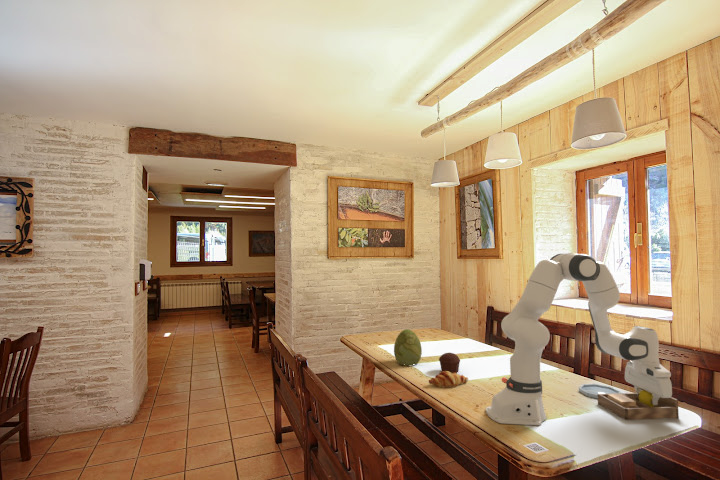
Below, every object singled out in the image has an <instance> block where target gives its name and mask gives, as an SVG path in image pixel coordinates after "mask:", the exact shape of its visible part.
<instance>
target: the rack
mask: <svg viewBox="0 0 720 480" xmlns="http://www.w3.org/2000/svg"><path fill="white" fill-rule="evenodd" d="M613 394H622V395H624V396H626V397H628V398H630V399H632V400H634V401H636V405H637V406H639V408H625V407H623V406H621V405H619V404H618V403H616V402H614V401H612V400H610V399H608V394H598V399H597V404H598V405H600V406H602V407H603V408H605V409H607V410H608V411H611V413H614V414H615V415H617V416H618V417H621V418H622V419H624V420H625V421H629V420H631V421H632V420H663V419H662V418H667V419H679V417H680V416H679V400H678V399H677V398H675V397H673V396H671V397H670V398H661V397H660V398H659V400H658V405H655V406H654V407H649V406H647V405H645V404H643V403H641V402H640V401H639V397H637V392H621V393H613ZM659 418H660V419H659Z"/></svg>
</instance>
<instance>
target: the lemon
mask: <svg viewBox="0 0 720 480" xmlns="http://www.w3.org/2000/svg"><path fill="white" fill-rule="evenodd" d="M650 399H653V396H652V393H650V392H648V391H646V390H643V389H641V392H640V393H639V401H640V402H641V403H643V404H645V405H647V406H649V407H654V406H655V405H653V404H651V401H650Z"/></svg>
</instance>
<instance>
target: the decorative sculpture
mask: <svg viewBox="0 0 720 480" xmlns="http://www.w3.org/2000/svg"><path fill="white" fill-rule="evenodd" d="M422 350H423V349H422V345H421V341H420V338H419V337H418V335H417V334H416V333H415V332H414V330H411V329H409V328H407V329H403V330H401V332H400V333H398V335H397V336H396V339H395V342H394V346H393V354H394V357H395V360H396V362H397V363H398V364H399V363H400V364H405V365H413V364H416V365H418V364H419V363H420V360H421V358H422V354H423V353H422V352H423V351H422ZM400 364H399V365H400ZM413 366H414V365H413Z"/></svg>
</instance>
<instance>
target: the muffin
mask: <svg viewBox="0 0 720 480" xmlns="http://www.w3.org/2000/svg"><path fill="white" fill-rule="evenodd" d="M438 361H439V364H440V370H442V371H449V372H451V373H457V372H458V373H459V370H460V362H461V359H460V358H459V356H458V355H457V354H456V353H453V352H445V353H443V354H441V355H440V357H439V358H438ZM442 371H441V372H442ZM458 373H457V374H458Z"/></svg>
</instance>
